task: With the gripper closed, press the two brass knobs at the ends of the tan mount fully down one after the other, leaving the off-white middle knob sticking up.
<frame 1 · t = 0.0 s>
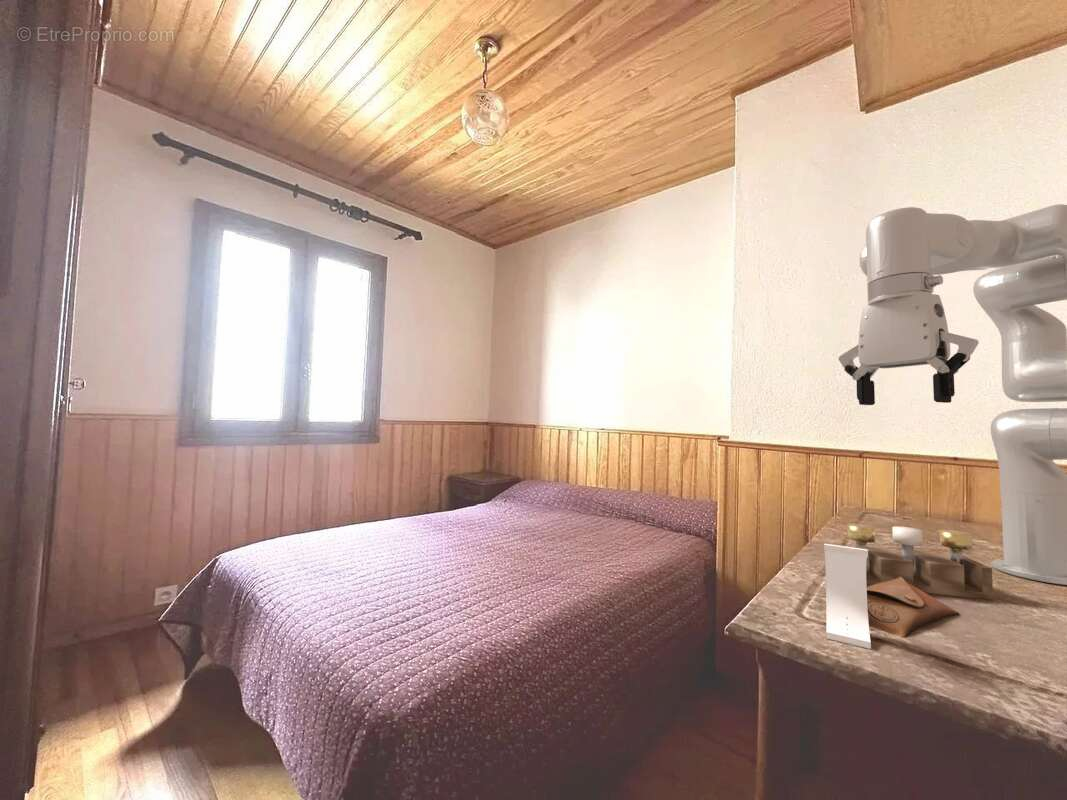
hand: (902, 403, 66), 31 cm above the table, tool pointing down, fingers open, 9 cm apart
sunglasses case: (898, 618, 64), on the table
headphone stand: (847, 635, 57), on the table
white knob: (907, 547, 77), point 6 cm above the table, slide at 0.0 cm
brass knob 1: (956, 550, 75), point 6 cm above the table, slide at 0.0 cm
tan mount: (908, 584, 76), on the table
brass knob 2: (861, 543, 79), point 6 cm above the table, slide at 0.0 cm
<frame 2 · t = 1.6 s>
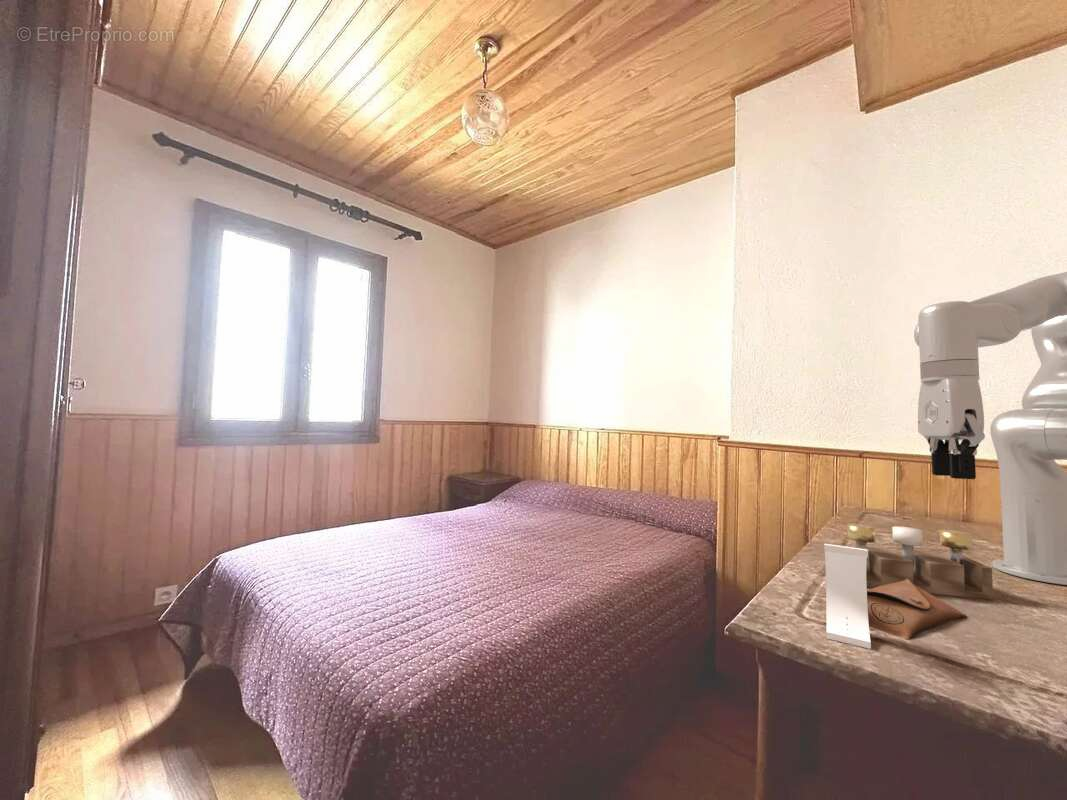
hand: (953, 475, 75), 19 cm above the table, tool pointing down, fingers open, 4 cm apart
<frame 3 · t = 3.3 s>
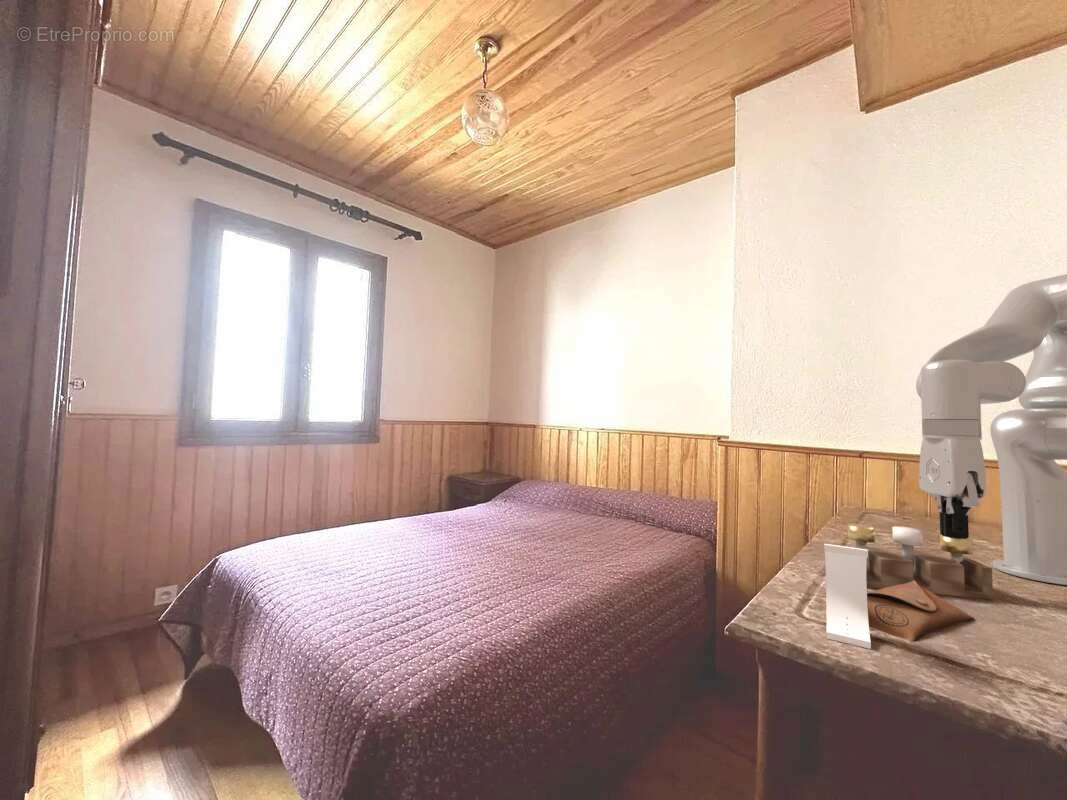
hand: (954, 536, 75), 9 cm above the table, tool pointing down, fingers closed
brass knob 1: (956, 555, 75), point 6 cm above the table, slide at 0.8 cm, touching gripper
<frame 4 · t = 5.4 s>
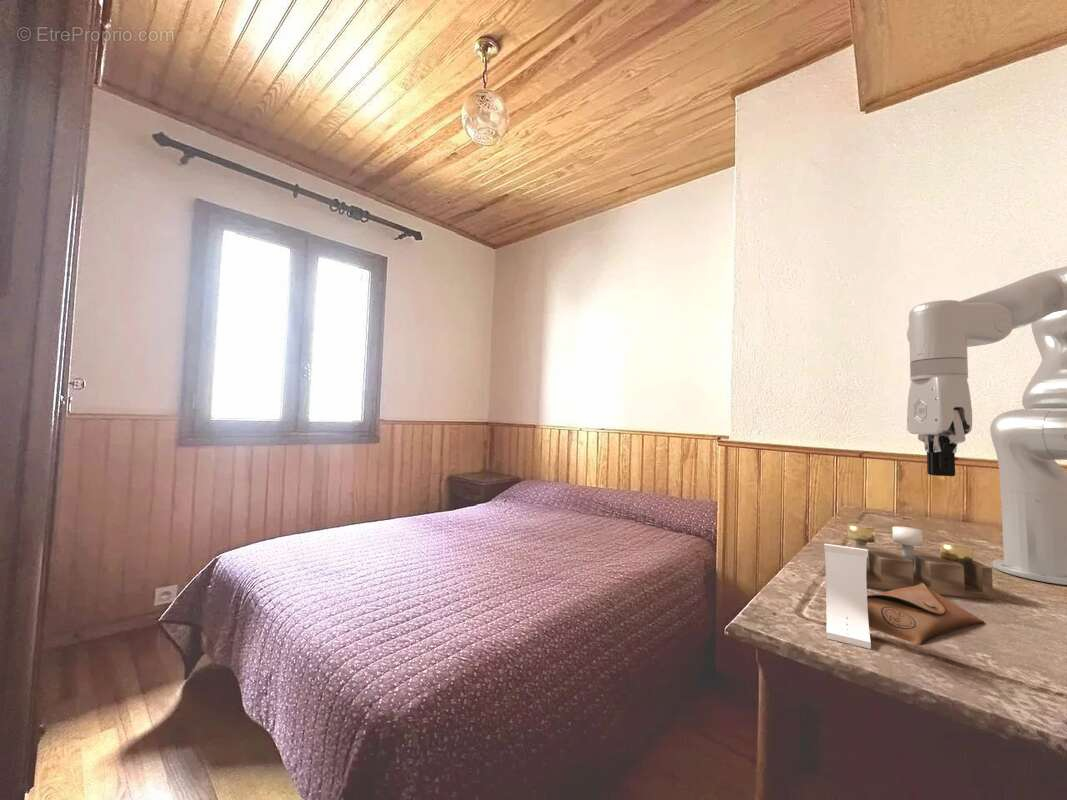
hand: (941, 475, 76), 19 cm above the table, tool pointing down, fingers closed
brass knob 1: (956, 563, 75), point 4 cm above the table, slide at 2.1 cm
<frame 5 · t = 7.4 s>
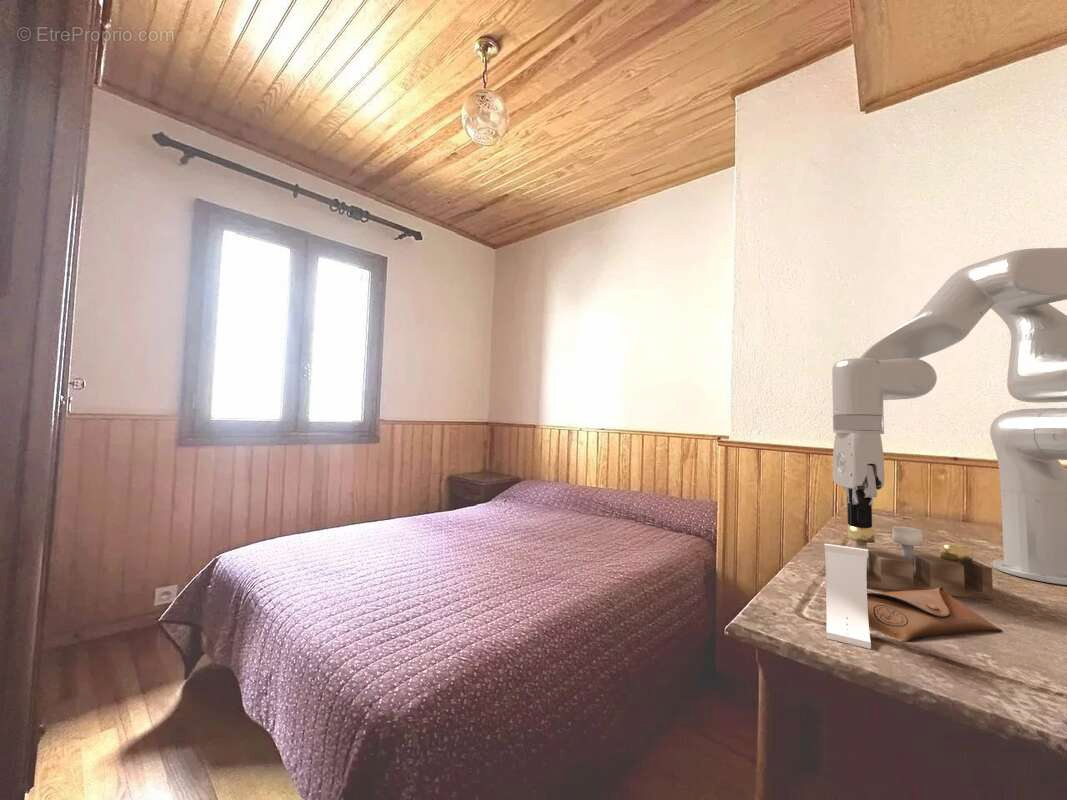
hand: (859, 526, 79), 10 cm above the table, tool pointing down, fingers closed
brass knob 2: (861, 543, 79), point 6 cm above the table, slide at 0.1 cm, touching gripper
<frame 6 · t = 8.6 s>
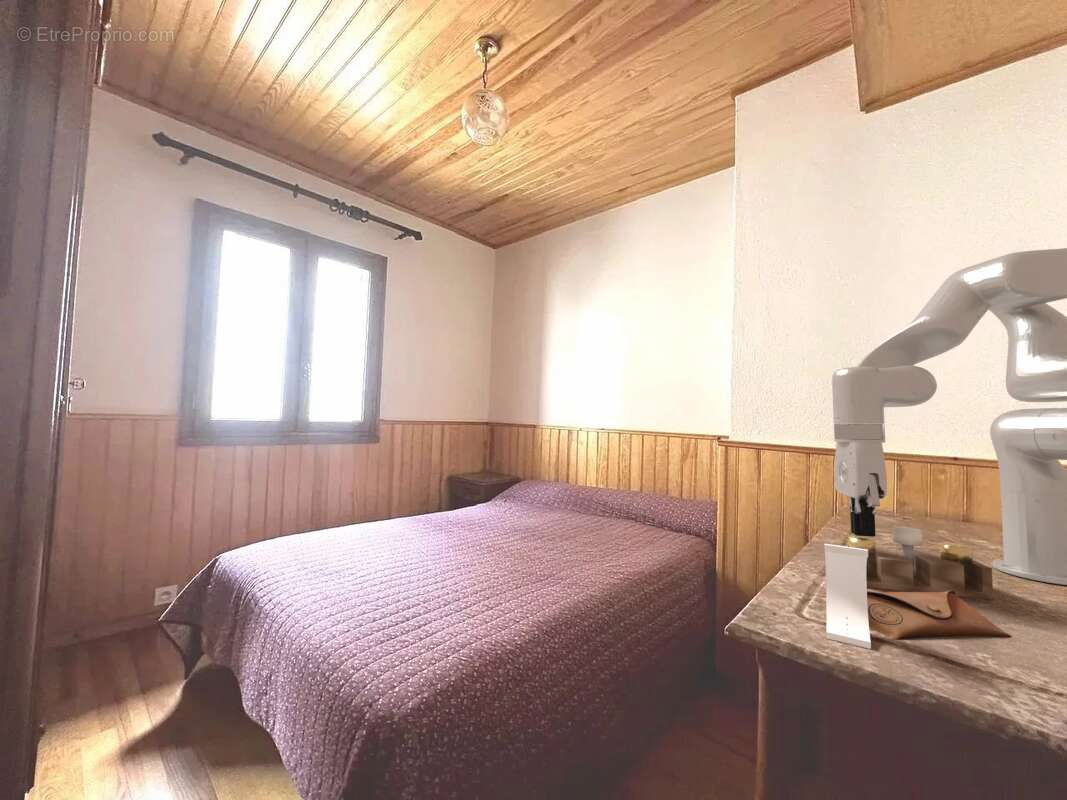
hand: (863, 534, 79), 8 cm above the table, tool pointing down, fingers closed
brass knob 2: (861, 555, 78), point 4 cm above the table, slide at 2.1 cm
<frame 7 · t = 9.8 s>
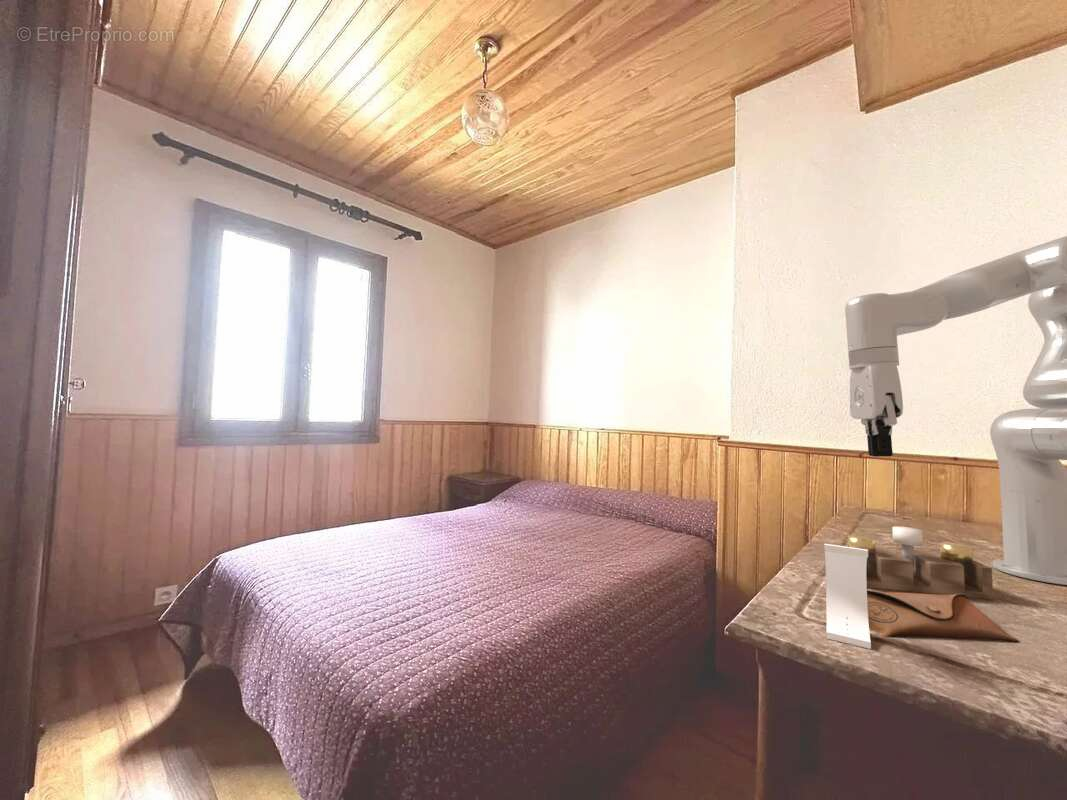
hand: (880, 455, 82), 22 cm above the table, tool pointing down, fingers closed
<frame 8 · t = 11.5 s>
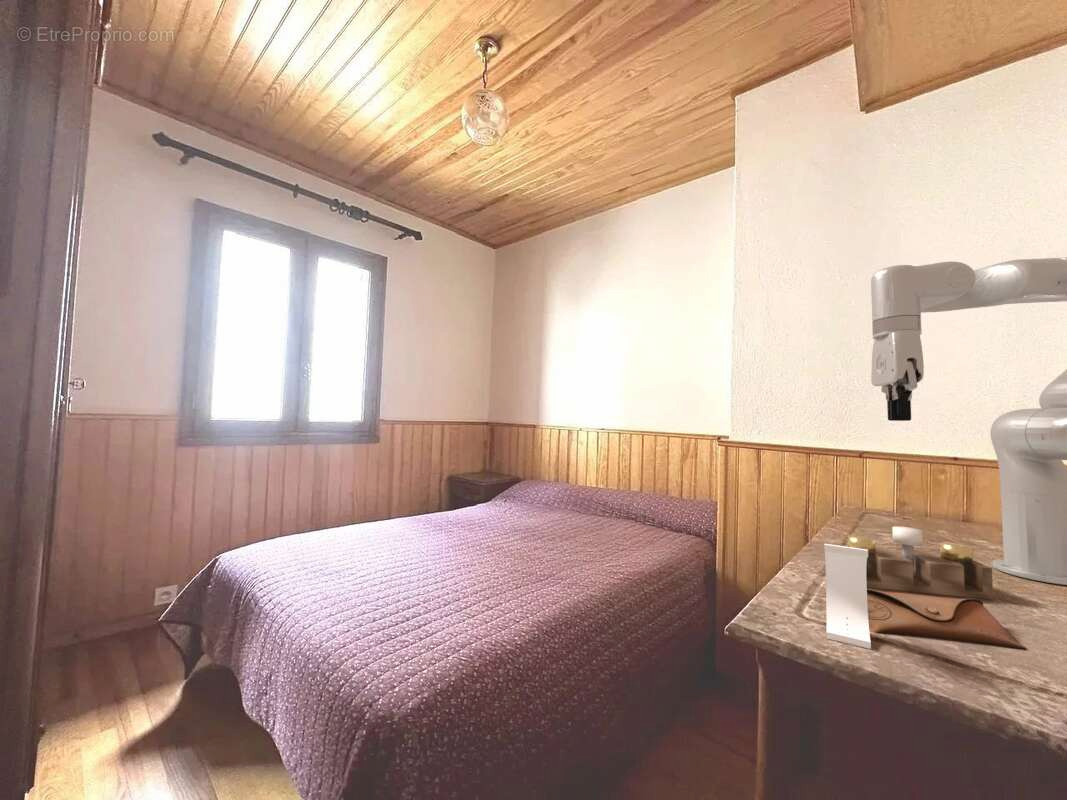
hand: (899, 420, 86), 29 cm above the table, tool pointing down, fingers closed
at the end: brass knob 1 slide at 2.1 cm; brass knob 2 slide at 2.1 cm; white knob slide at 0.0 cm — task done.
